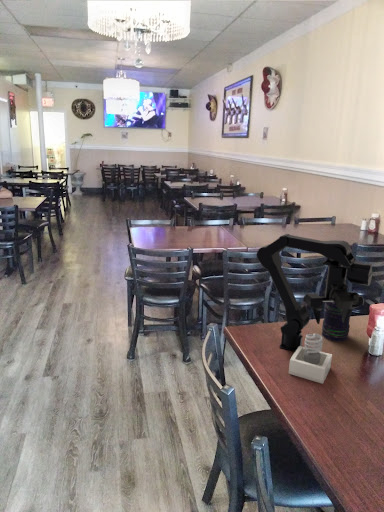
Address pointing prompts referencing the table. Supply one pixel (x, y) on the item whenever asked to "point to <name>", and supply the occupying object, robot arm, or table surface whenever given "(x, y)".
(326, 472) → the table surface
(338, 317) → the storage jar
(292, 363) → the white open box
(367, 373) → the table surface
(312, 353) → the light bulb
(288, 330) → the robot arm
